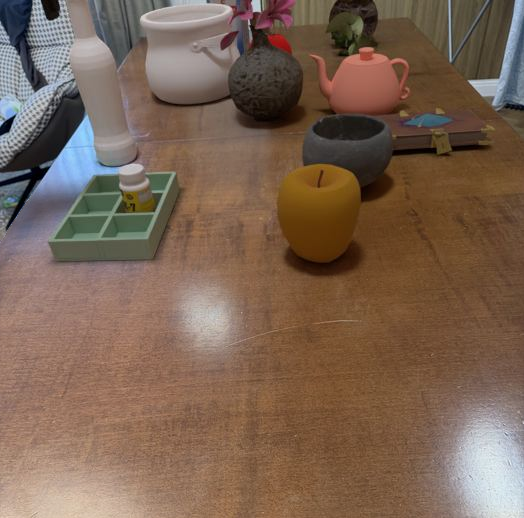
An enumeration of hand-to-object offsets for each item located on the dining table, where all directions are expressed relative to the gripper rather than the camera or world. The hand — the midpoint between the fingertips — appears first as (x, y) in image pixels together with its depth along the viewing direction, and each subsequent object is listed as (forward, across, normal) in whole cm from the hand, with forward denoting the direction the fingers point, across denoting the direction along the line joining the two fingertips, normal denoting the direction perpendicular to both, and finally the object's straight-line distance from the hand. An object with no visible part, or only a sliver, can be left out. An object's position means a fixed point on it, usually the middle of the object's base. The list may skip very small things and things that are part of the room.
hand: (19, 20), depth 68 cm
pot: (+28, +10, +63) cm, 70 cm away
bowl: (+28, +45, +7) cm, 54 cm away
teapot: (+28, +50, +43) cm, 72 cm away
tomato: (+28, +29, +75) cm, 85 cm away
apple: (+28, +40, -15) cm, 51 cm away
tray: (+28, +8, -4) cm, 30 cm away
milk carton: (+28, +16, +93) cm, 99 cm away
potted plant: (+28, +52, +93) cm, 110 cm away
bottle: (+28, 0, +22) cm, 36 cm away
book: (+28, +60, +25) cm, 71 cm away
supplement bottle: (+28, +12, -4) cm, 30 cm away
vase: (+28, +29, +42) cm, 58 cm away
